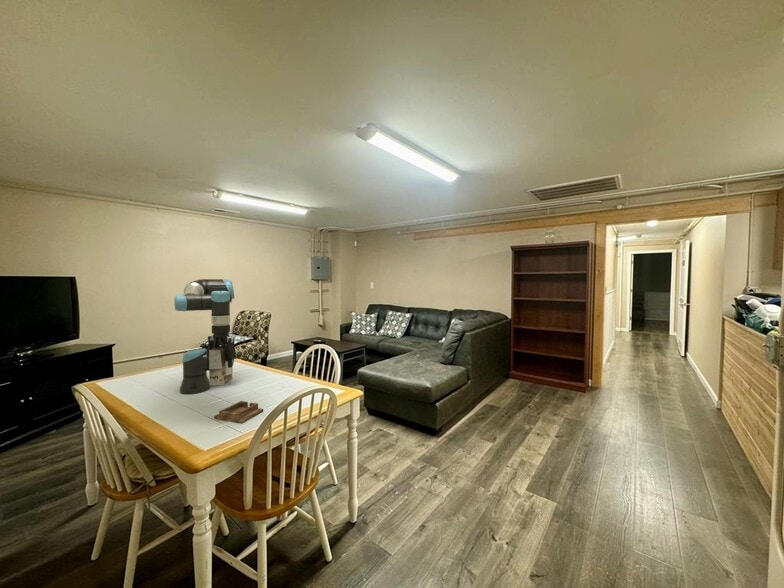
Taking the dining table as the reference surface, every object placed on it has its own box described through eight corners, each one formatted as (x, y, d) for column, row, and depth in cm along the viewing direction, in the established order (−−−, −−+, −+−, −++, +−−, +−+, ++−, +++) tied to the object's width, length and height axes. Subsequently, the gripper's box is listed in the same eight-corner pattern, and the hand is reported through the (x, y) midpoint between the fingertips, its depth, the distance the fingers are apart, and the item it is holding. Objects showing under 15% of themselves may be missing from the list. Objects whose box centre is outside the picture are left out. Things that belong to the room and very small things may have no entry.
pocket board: (213, 418, 146) (213, 410, 145) (237, 407, 159) (237, 400, 159) (241, 423, 141) (241, 415, 141) (263, 411, 154) (263, 404, 154)
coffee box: (223, 385, 141) (223, 349, 140) (209, 385, 140) (208, 349, 140) (233, 378, 150) (232, 345, 149) (219, 379, 149) (218, 345, 149)
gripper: (196, 324, 144) (197, 373, 145) (231, 326, 137) (232, 378, 138) (211, 322, 151) (211, 368, 152) (244, 324, 144) (245, 373, 145)
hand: (221, 373), depth 145 cm, fingers closed on coffee box, 8 cm apart
